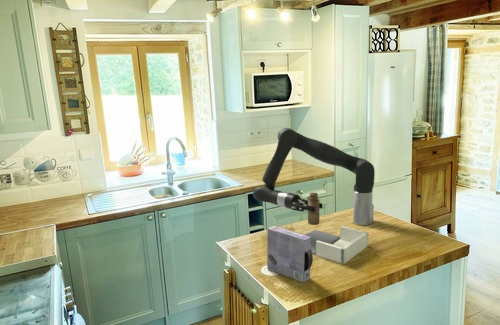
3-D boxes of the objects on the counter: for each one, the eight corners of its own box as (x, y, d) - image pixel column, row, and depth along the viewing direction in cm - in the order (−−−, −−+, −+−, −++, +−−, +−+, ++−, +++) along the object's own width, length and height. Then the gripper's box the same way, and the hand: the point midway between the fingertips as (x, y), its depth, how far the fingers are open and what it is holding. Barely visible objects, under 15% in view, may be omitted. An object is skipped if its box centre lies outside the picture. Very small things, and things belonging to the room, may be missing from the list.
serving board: (314, 231, 186) (314, 229, 186) (339, 238, 176) (339, 236, 176) (287, 247, 170) (287, 244, 170) (313, 255, 161) (313, 253, 161)
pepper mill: (314, 219, 175) (314, 191, 172) (321, 223, 170) (321, 194, 167) (305, 222, 172) (305, 193, 169) (312, 225, 168) (312, 196, 165)
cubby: (341, 239, 175) (341, 225, 174) (367, 247, 166) (368, 232, 165) (316, 256, 160) (315, 241, 159) (343, 265, 151) (343, 249, 150)
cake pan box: (313, 279, 143) (313, 236, 139) (306, 284, 139) (305, 240, 135) (274, 264, 155) (272, 224, 151) (266, 269, 152) (264, 228, 148)
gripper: (279, 196, 173) (309, 204, 162) (297, 189, 183) (327, 195, 172) (279, 211, 175) (309, 220, 163) (297, 203, 185) (327, 211, 174)
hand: (318, 207), depth 168 cm, fingers closed on pepper mill, 5 cm apart
